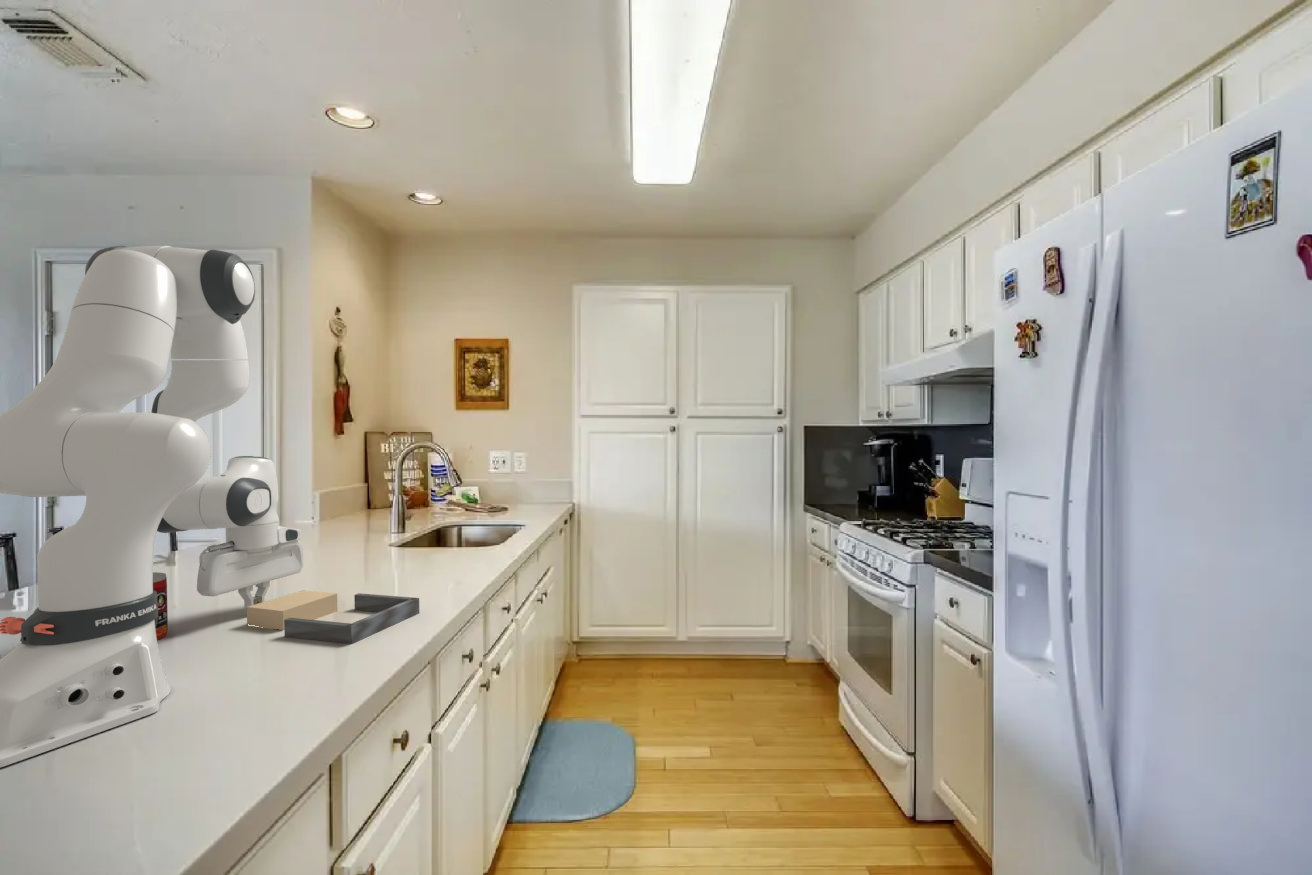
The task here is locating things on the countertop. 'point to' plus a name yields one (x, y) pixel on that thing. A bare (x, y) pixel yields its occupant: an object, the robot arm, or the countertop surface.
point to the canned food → (161, 603)
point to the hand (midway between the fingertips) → (254, 606)
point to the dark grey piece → (388, 615)
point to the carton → (292, 608)
